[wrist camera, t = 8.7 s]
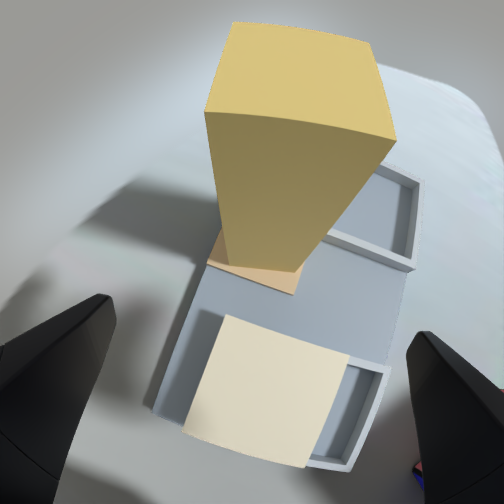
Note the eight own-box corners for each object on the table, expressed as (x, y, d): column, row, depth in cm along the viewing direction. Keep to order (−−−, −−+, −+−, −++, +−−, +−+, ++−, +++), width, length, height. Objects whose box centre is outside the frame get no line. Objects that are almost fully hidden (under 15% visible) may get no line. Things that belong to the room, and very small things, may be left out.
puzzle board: (338, 464, 15) (350, 479, 13) (154, 409, 16) (142, 419, 14) (413, 189, 21) (428, 174, 19) (267, 131, 22) (269, 111, 20)
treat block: (294, 272, 18) (396, 140, 5) (229, 265, 18) (204, 111, 5) (298, 212, 19) (369, 43, 6) (237, 205, 19) (233, 21, 6)
